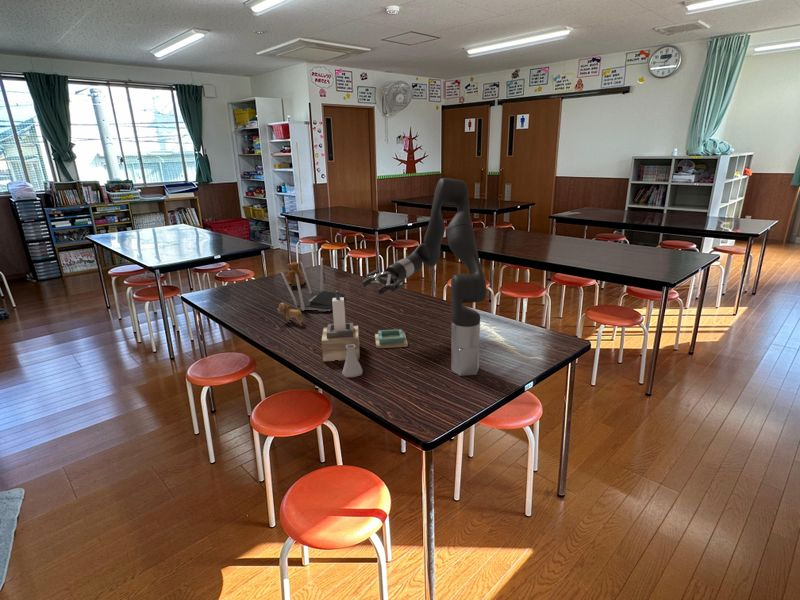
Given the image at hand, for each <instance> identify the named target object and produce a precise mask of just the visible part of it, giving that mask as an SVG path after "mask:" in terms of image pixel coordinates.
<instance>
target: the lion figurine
mask: <svg viewBox="0 0 800 600" xmlns="http://www.w3.org/2000/svg"><path fill="white" fill-rule="evenodd" d="M278 305H279V306H278V308H277V309H276V310H277V311H278V313H281V314H282V315H283V316H284V317H285V318H286V322H287V321H289V320H292V321H293V318H295V319H296V321H297V322H298V324H299V325H302V326H303V324H304V325H306V324H307V325H308V323H307V322H305V321H304V318H303V314H302V310H301V309H293V308H292V307H291V305H290V304H288V303H285V302H280V303H279V304H278ZM289 322H290V321H289ZM301 322H302V323H301Z"/></svg>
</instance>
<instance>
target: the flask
mask: <svg viewBox="0 0 800 600" xmlns="http://www.w3.org/2000/svg"><path fill="white" fill-rule="evenodd" d="M346 349H347V357H346V360H344V365H343V369H342V372H341V375H343V376H344V377H345V378H357V377H358V376H362V375H363V373H364V371H363V368H362V365H361V364H360V362H359V359H357V357H356V354H355V345H354V344H349V345H346Z"/></svg>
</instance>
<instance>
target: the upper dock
mask: <svg viewBox="0 0 800 600" xmlns="http://www.w3.org/2000/svg"><path fill="white" fill-rule="evenodd" d="M359 333H360V331H359V325H354V322H346V331H338V332H335V331H334V323H328V324H327V327H325V326H324V327H323V330H322V335H321V351H322V362H333V361H335V360H338V361H346V357H347V349H346V345H349V344H354V345H355V354H356V357H357V359H358V360H360V358H361V357H360V337H359V336H360V334H359ZM335 362H336V361H335Z"/></svg>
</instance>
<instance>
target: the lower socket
mask: <svg viewBox="0 0 800 600" xmlns="http://www.w3.org/2000/svg"><path fill="white" fill-rule="evenodd" d="M374 338H375V345H376V346H375V347H376V349H387V348H389V349H391V348H402V347H409V346H408V345H409V342H408V339H407V337H406V332H404V331H403V330H402V328H398V329H397V328H396V329H380V330H377V333H374Z"/></svg>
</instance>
